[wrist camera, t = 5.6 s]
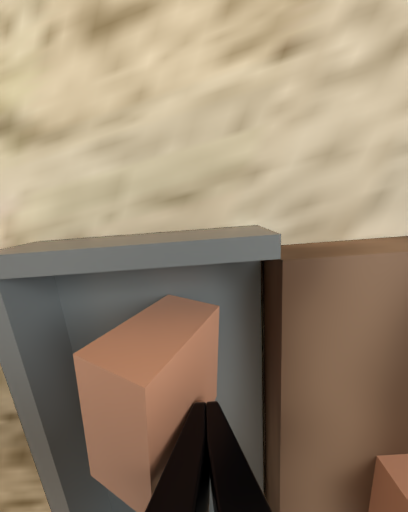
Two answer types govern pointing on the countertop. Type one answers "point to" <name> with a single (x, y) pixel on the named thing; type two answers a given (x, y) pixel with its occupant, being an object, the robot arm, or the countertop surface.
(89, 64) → the countertop surface
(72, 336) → the tray
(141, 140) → the countertop surface
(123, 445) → the tile
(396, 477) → the block
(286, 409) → the walnut board
